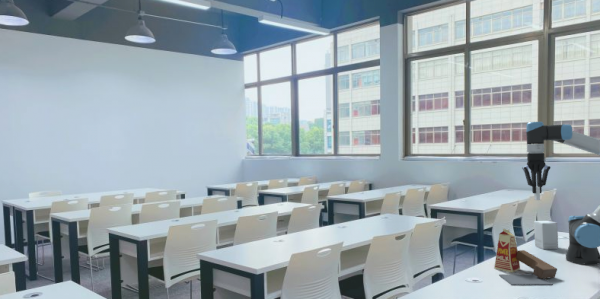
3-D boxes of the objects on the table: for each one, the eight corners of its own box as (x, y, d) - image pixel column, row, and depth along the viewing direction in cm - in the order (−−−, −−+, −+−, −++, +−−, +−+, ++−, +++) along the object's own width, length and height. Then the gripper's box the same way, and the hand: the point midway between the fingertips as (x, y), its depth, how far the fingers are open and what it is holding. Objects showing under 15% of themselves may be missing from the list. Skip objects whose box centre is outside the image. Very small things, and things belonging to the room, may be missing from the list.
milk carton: (512, 272, 199) (511, 230, 199) (493, 268, 206) (492, 228, 206) (521, 268, 205) (519, 227, 205) (502, 265, 212) (500, 225, 212)
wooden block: (543, 269, 185) (510, 250, 201) (541, 279, 186) (508, 259, 202) (557, 268, 188) (524, 249, 205) (555, 277, 189) (521, 258, 206)
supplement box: (559, 249, 240) (558, 222, 240) (543, 249, 240) (542, 223, 240) (549, 245, 249) (548, 220, 249) (534, 246, 249) (533, 220, 249)
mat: (537, 275, 194) (537, 274, 194) (552, 285, 180) (552, 283, 180) (499, 275, 195) (499, 274, 195) (511, 285, 181) (511, 284, 181)
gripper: (525, 153, 208) (527, 201, 208) (553, 152, 207) (554, 200, 206) (518, 153, 215) (520, 199, 215) (545, 152, 214) (547, 198, 214)
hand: (537, 199), depth 211 cm, fingers closed
